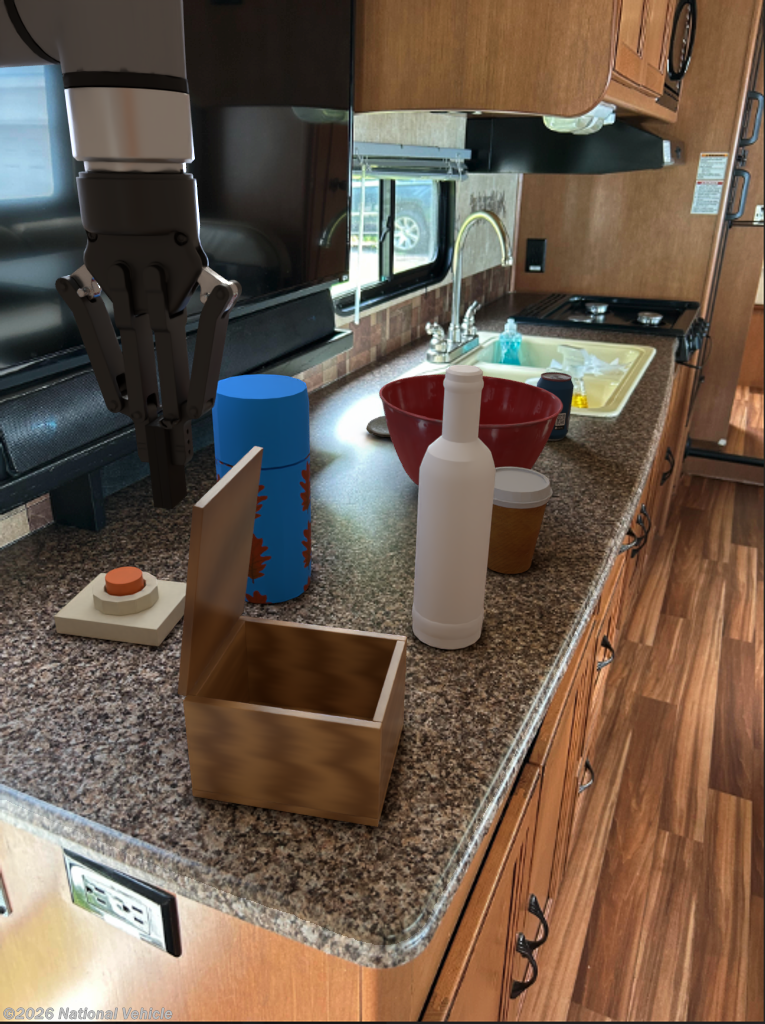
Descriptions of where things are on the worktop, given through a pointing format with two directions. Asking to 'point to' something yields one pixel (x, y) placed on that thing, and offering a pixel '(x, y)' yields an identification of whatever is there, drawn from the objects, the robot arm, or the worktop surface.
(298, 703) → the wooden box
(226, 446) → the thermos
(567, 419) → the soda can
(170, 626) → the control block
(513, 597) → the worktop surface
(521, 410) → the mixing bowl
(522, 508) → the disposable coffee cup
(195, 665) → the wooden box lid
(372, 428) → the lid
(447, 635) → the bottle
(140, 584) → the button
